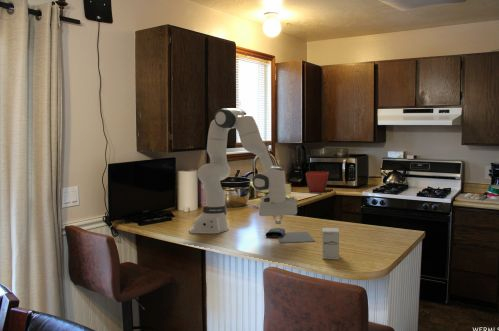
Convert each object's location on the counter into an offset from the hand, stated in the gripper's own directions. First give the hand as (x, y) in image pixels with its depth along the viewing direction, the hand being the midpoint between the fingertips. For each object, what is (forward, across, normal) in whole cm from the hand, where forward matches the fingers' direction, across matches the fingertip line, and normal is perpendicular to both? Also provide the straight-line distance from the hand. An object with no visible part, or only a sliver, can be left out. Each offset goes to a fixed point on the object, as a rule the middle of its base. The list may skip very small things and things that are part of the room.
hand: (278, 223), depth 229 cm
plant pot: (+8, -56, -156) cm, 166 cm away
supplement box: (+8, -18, +37) cm, 42 cm away
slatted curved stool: (+8, -6, -91) cm, 91 cm away
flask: (+6, +2, -1) cm, 7 cm away
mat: (+8, -8, 0) cm, 11 cm away
